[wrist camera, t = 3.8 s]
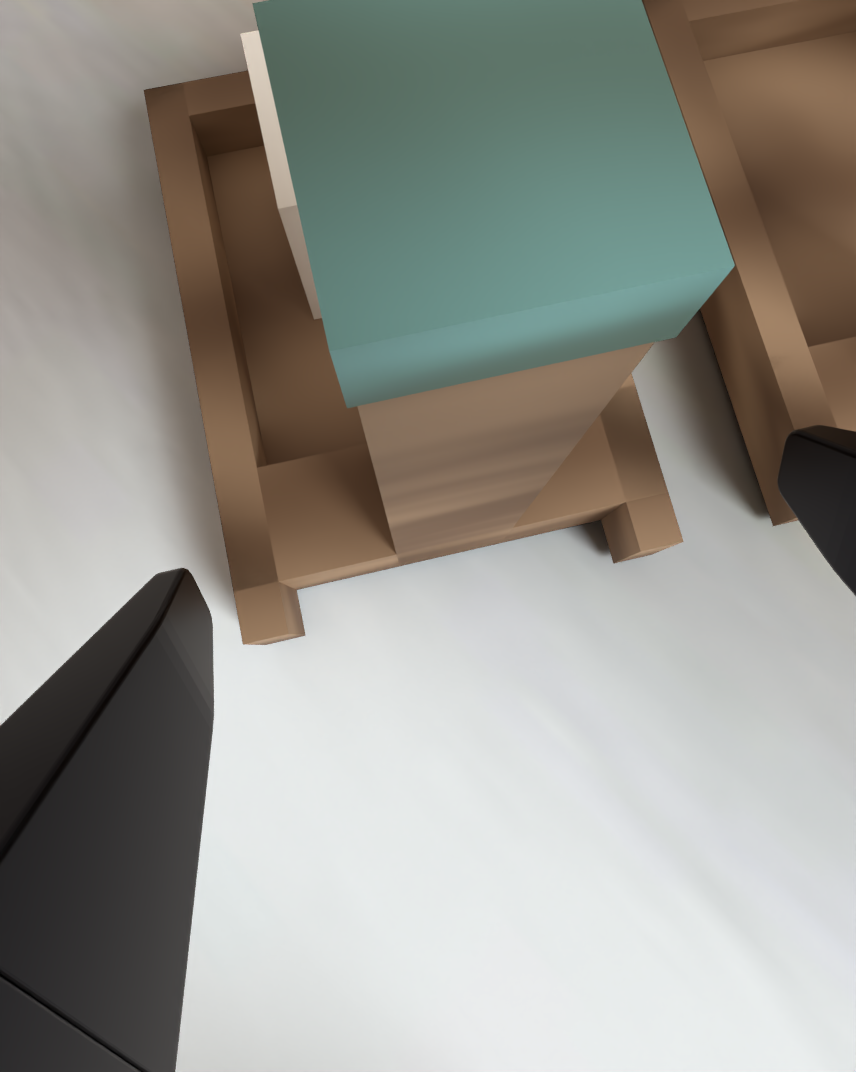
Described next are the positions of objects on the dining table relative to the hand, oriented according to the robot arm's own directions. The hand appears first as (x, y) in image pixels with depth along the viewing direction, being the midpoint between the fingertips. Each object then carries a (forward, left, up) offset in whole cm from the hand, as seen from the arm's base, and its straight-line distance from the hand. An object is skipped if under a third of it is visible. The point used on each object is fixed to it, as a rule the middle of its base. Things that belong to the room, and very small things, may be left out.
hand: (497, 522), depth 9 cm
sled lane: (+7, +4, -10) cm, 13 cm away
